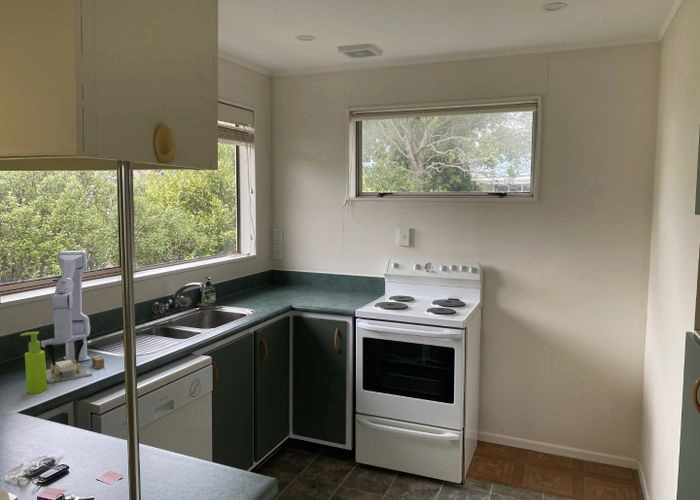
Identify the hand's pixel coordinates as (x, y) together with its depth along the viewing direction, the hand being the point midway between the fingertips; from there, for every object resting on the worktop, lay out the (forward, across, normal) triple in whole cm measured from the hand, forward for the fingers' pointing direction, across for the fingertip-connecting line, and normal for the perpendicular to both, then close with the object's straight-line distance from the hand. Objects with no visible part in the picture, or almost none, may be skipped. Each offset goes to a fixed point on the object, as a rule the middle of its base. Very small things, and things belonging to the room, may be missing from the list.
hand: (65, 362), depth 200 cm
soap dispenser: (+4, -12, -13) cm, 18 cm away
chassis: (+4, 0, 0) cm, 4 cm away
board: (+2, 0, 0) cm, 2 cm away
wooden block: (+4, +12, +3) cm, 13 cm away
